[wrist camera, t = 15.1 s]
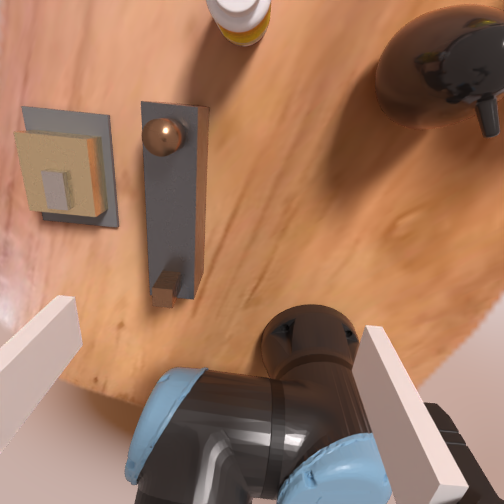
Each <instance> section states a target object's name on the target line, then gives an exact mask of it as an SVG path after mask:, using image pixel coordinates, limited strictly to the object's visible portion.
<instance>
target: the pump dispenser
mask: <svg viewBox="0 0 504 504" xmlns="http://www.w3.org/2000/svg"><path fill="white" fill-rule="evenodd" d="M375 90H376V96H377V100H378V103H379V105H380V107H381V109H382V111H383V112H384V114H385V115H386V116H387V117H388V118H389V119H390V120H391V121H393V122H394V123H396V124H398V125H400V126H402V127H406V128H410V129H433V128H440V127H445V126H449V125H453V124H456V123H459V122H462V121H464V120H467V119H469V118H471V117H473V116H475V115H477V118H478V121H479V125H480V128H481V131H482V135H483V137H484V138H486V139H489V138H493V137H496V136H498V135H499V134H500V123H499V113H498V103H497V102H498V101H499V100H501V99H502V98H503V97H504V10H501V9H498V8H494V7H490V6H485V5H477V4H463V5H454V6H449V7H444V8H440V9H436V10H433V11H430V12H427V13H425V14H423V15H421V16H419V17H417V18H415V19H413V20H412V21H410V22H409V23H407V24H406V25H405V26H403V27H402V28H401V29H400V30H399V31H398V32H397V33H396V34H395V35H394V36H393V37H392V39H391V40H390V41H389V43H388V44H387V46H386V47H385V49H384V51H383V53H382V55H381V57H380V60H379V63H378V66H377V71H376V77H375Z"/></svg>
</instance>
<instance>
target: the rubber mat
mask: <svg viewBox="0 0 504 504" xmlns="http://www.w3.org/2000/svg"><path fill="white" fill-rule="evenodd" d="M22 112H23V117H24V122H25V127H26V130H42V131H52V132H62V133H71V134H81V135H91V136H100V137H101V139H102V149H103V159H104V169H105V179H106V189H107V200H108V209H107V210H106V211H104V212H103V213H101V214H100V215H98V216H97V217H90V216H80V215H70V214H60V213H50V212H42V216H43V220H47V221H57V222H67V223H77V224H87V225H97V226H107V227H119V217H118V205H117V194H116V182H115V171H114V159H113V148H112V136H111V124H110V115H103V114H94V113H84V112H74V111H65V110H55V109H46V108H36V107H26V106H22Z"/></svg>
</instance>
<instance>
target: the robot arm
mask: <svg viewBox="0 0 504 504" xmlns="http://www.w3.org/2000/svg"><path fill="white" fill-rule="evenodd" d="M82 345H83V343H82V337H81V331H80V325H79V319H78V313H77V307H76V301H75V297H72V296H61V295H57V296H56V297H55V298H54V299H53V300H52V301H51V302H50V303H49V304H48V305H46V306H45V307H44V308H43V309H42V310H41V311H40V312H39V313H38V314H37V315H36V316H35V317H33V318H32V319H31V320H30V321H29V322H28V323H27V324H26V325H25V326H24V327H23V328H21V329H20V330H19V331H18V332H17V333H16V334H15V335H14V336H13V337H12V338H11V339H10V340H8V341H7V343H5V344H4V345H3V346H2V347H1V348H0V454H1V452H2V451H3V450H4V449H5V447H6V446H7V444H8V443H9V442H10V441H11V439H12V438H13V437H14V435H15V434H16V433H17V431H18V430H19V429H20V427H21V426H22V425H23V423H24V422H25V421H26V420H27V418H28V417H29V415H30V414H31V413H32V412H33V410H34V409H35V408H36V406H37V405H38V404H39V402H40V401H41V400H42V398H43V397H44V396H45V394H46V393H47V392H48V390H49V389H50V388H51V386H52V385H53V384H54V382H55V381H56V380H57V378H58V377H59V376H60V374H61V373H62V372H63V370H64V369H65V368H66V366H67V365H68V364H69V363H70V361H71V360H72V359H73V357H74V356H75V355H76V353H77V352H78V351H79V349H80V348H81V347H82ZM261 354H262V360H263V363H264V366H265V368H266V370H267V372H268V374H269V377H270V378H264V377H257V376H249V375H242V374H234V373H227V372H219V371H212V370H208V368H206V367H204V368H202V369H198V368H185V367H175V368H172V369H170V370H168V371H167V372H166V373H164V374H163V375H162V377H161V378H160V379H159V381H158V382H157V384H156V385H155V387H154V389H153V390H152V392H151V394H150V396H149V398H148V400H147V402H146V404H145V407H144V409H143V411H142V414H141V416H140V419H139V421H138V424H137V426H136V429H135V432H134V435H133V438H132V441H131V444H130V448H129V452H128V460H127V463H126V466H125V477H126V479H127V481H129V482H131V484H132V485H137V484H138V491H137V495H136V500H135V504H252V499H253V498H263V499H271V500H277V504H387V502H388V500H389V499H390V496H391V494H392V492H393V495H394V497H395V501H396V504H504V500H502V499H500V498H499V497H498V495H497V494H496V493H495V491H494V489H493V488H492V486H491V484H490V483H489V481H488V479H487V478H486V476H485V474H484V473H483V471H482V469H481V468H480V466H479V464H478V463H477V461H476V460H475V458H474V456H473V454H472V453H471V451H470V449H469V448H468V446H466V443H465V441H464V439H463V438H462V436H461V435H460V434H459V433H458V429H457V428H456V426H455V424H454V423H453V421H452V419H451V418H450V417H449V415H448V414H446V412H445V411H444V410H442V409H441V407H439V406H438V405H437V404H435V403H424V402H423V401H422V399H421V397H420V395H419V394H418V392H417V390H416V388H415V386H414V384H413V383H412V381H411V379H410V377H409V375H408V373H407V371H406V370H405V368H404V366H403V364H402V362H401V360H400V359H399V357H398V355H397V353H396V351H395V349H394V347H393V346H392V344H391V342H390V340H389V338H388V336H387V335H386V333H385V331H384V329H383V327H380V326H370V325H365V328H364V332H363V335H362V338H361V341H360V344H359V339H358V337H357V334H356V332H355V329H354V327H353V325H352V323H351V322H350V321H349V320H348V319H347V318H346V317H345V316H344V315H343V314H342V313H340V312H338V311H337V310H335V309H332V308H330V307H326V306H322V305H301V306H296V307H293V308H290V309H287V310H285V311H283V312H281V313H280V314H278V315H277V316H276V317H274V318H273V319H272V320H271V321H270V323H269V324H268V325H267V327H266V328H265V330H264V333H263V336H262V341H261Z"/></svg>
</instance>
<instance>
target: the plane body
mask: <svg viewBox="0 0 504 504" xmlns="http://www.w3.org/2000/svg"><path fill="white" fill-rule="evenodd" d="M141 115H142V141H143V157H144V178H145V199H146V220H147V241H148V262H149V283H150V295H152V300H153V306H156V307H167V308H173V306H174V303H175V301H176V299H177V298H184V299H194V298H195V295H196V292H197V289H198V287H199V284H200V281H201V278H202V275H203V271H204V242H205V213H206V185H207V156H208V127H209V107H204V106H194V105H185V104H175V103H166V102H148V101H141Z"/></svg>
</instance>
